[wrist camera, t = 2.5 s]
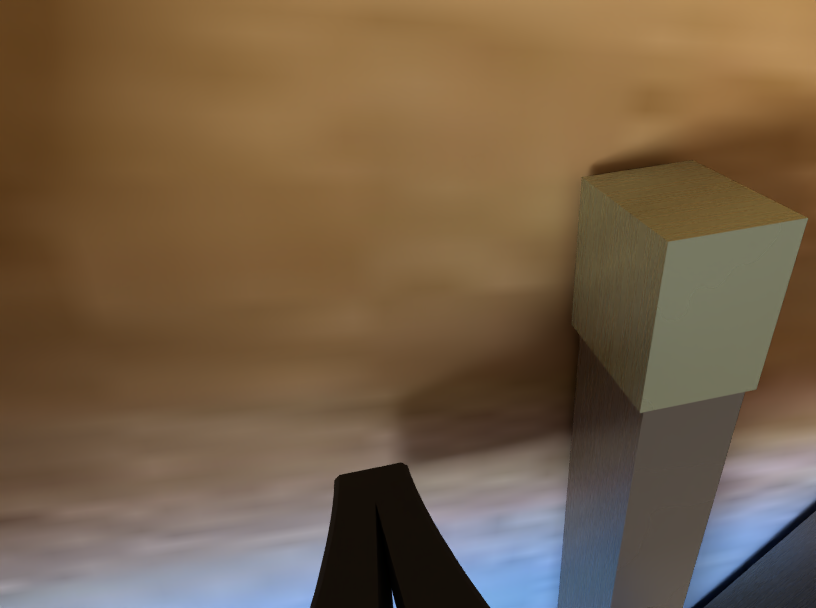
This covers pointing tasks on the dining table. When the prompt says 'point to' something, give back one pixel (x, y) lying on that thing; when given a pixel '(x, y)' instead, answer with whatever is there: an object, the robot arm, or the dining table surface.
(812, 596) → the tongs frame
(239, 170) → the dining table surface
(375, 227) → the dining table surface
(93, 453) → the dining table surface
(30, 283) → the dining table surface
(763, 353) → the arm
